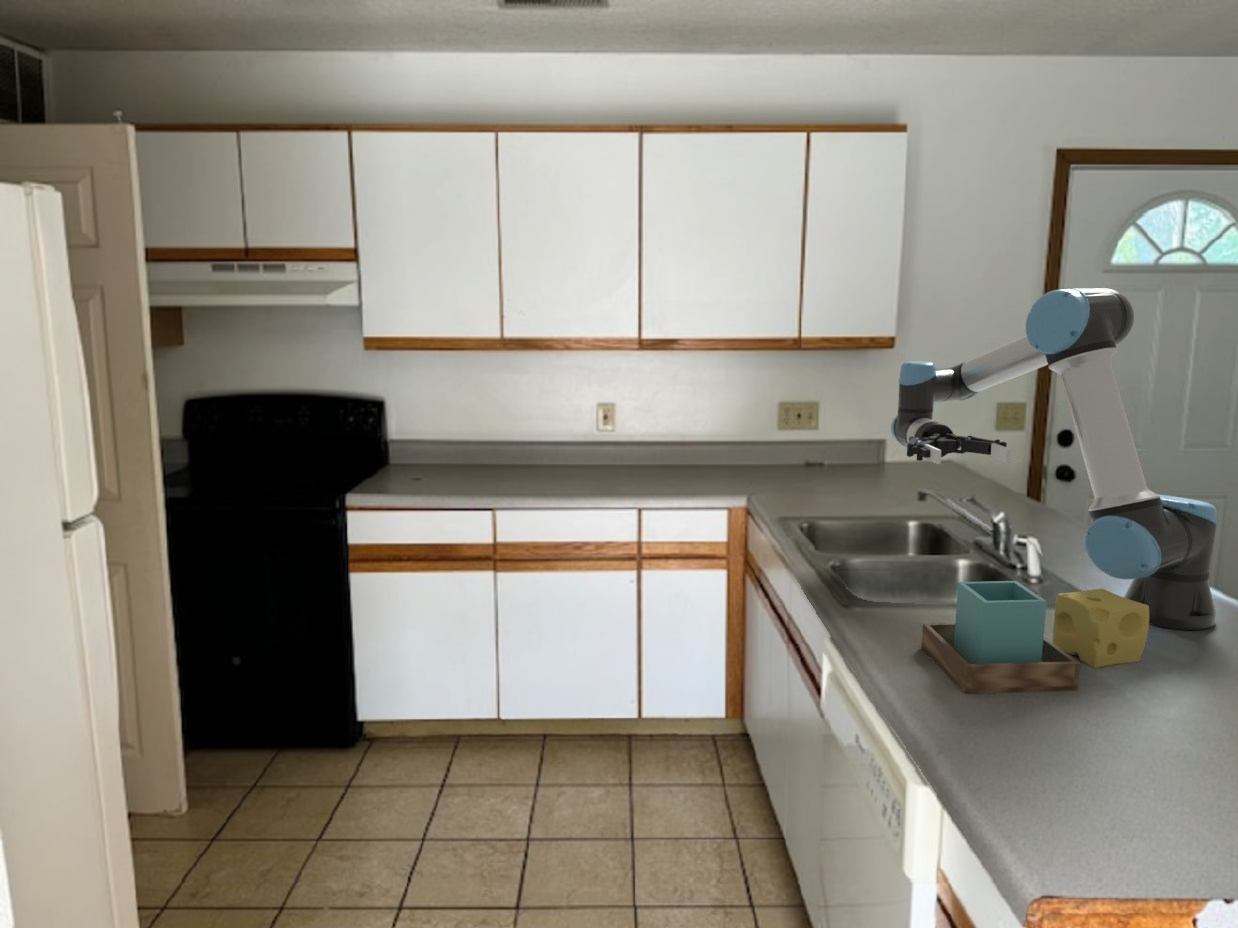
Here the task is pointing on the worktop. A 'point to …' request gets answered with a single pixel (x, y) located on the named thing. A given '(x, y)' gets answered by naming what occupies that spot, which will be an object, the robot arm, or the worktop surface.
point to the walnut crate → (1000, 666)
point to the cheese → (1100, 627)
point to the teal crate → (999, 623)
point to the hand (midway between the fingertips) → (973, 456)
